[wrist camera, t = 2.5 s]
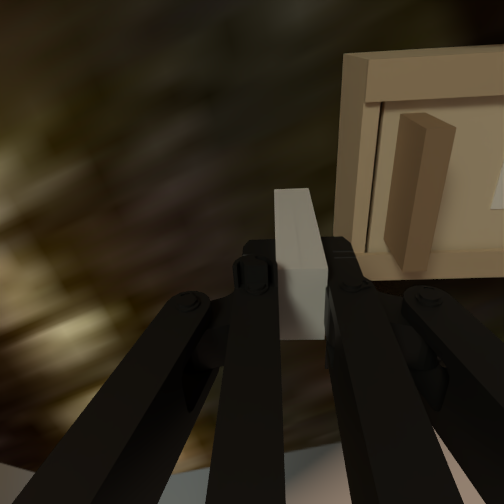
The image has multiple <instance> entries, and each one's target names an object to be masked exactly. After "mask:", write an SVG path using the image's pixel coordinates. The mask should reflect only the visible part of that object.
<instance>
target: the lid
mask: <svg viewBox="0 0 504 504" xmlns="http://www.w3.org/2000/svg"><path fill="white" fill-rule="evenodd" d="M496 248H504V95H495V96H476V97H457V98H439V99H420V100H401V101H382V108H381V117H380V126H379V135H378V144H377V153H376V162H375V172H374V181H373V190H372V199H371V208H370V217H369V226H368V235H367V245H366V253H373V252H391V253H392V255H393V257H394V258H395V260H396V262H397V264H398V265H399V267H400V269H401V270H402V272H414V271H427V267H428V262H429V257H430V253H431V251H434V250H465V249H496Z"/></svg>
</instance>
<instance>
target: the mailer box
mask: <svg viewBox="0 0 504 504" xmlns="http://www.w3.org/2000/svg"><path fill="white" fill-rule="evenodd" d="M495 95H504V44H495V45H478V46H461V47H445V48H428V49H412V50H395V51H379V52H362V53H346V54H343V72H342V89H341V106H340V123H339V140H338V158H337V175H336V192H335V209H334V226H333V235H334V237H338V236H343V237H344V238H345V239H347V240H348V241H349V242H350V243H351V245H352V248H353V250H354V253H355V255H356V258H357V261H358V263H359V266H360V268H361V271H362V274H363V276H364V277H366V278H367V279H369V280H371V281H380V280H415V279H450V278H485V277H504V248H496V249H465V250H434V251H431V253H430V257H429V262H428V267H427V271H414V272H402V270H401V269H400V267H399V265H398V264H397V262H396V260H395V258H394V257H393V255H392V253H391V252H373V253H366V245H367V235H368V226H369V217H370V208H371V199H372V190H373V181H374V172H375V162H376V153H377V144H378V135H379V126H380V117H381V108H382V101H401V100H420V99H439V98H457V97H476V96H495Z"/></svg>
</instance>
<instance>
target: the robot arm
mask: <svg viewBox="0 0 504 504" xmlns="http://www.w3.org/2000/svg"><path fill="white" fill-rule="evenodd" d="M274 200H275V239H267V240H249V241H248V242H247V243H246V244H245V246H244V247H243V254H242V257H240V258H238V259H237V260H236V261H235V262H234V264H233V276H234V287H235V290H234V292H233V293H231V294H230V295H228V296H226V297H223V298H220V299H216V300H212V301H210V299H209V297H208V296H207V295H206V294H204V293H202V292H198V291H187V292H183V293H179V294H177V295H175V296H173V297H172V298H171V299H170V300H168V301H167V303H166V304H165V305H164V307H163V308H162V309H161V310H160V312H159V313H158V314H157V316H156V317H155V318H154V320H153V321H152V322H151V323H150V325H149V326H148V327H147V329H146V330H145V331H144V333H143V334H142V335H141V336H140V338H139V339H138V340H137V342H136V343H135V344H134V346H133V347H132V348H131V349H130V351H129V352H128V353H127V355H126V356H125V357H124V359H123V360H122V361H121V362H120V364H119V365H118V366H117V368H116V369H115V370H114V372H113V373H112V374H111V375H110V377H109V378H108V379H107V381H106V382H105V383H104V385H103V386H102V387H101V388H100V390H99V391H98V392H97V394H96V395H95V396H94V398H93V399H92V400H91V401H90V403H89V404H88V405H87V407H86V408H85V409H84V411H83V412H82V413H81V414H80V416H79V417H78V418H77V420H76V421H75V422H74V424H73V425H72V426H71V427H70V429H69V430H68V431H67V433H66V434H65V435H64V437H63V438H62V439H61V440H60V442H59V443H58V444H57V446H56V447H55V448H54V449H53V451H52V452H51V453H50V455H49V456H48V457H47V459H46V460H45V461H44V462H43V464H42V465H41V466H40V468H39V469H38V470H37V472H36V473H35V474H34V475H33V477H32V478H31V479H30V481H29V482H28V483H27V485H26V486H25V487H24V489H23V490H22V491H21V493H20V494H19V495H18V496H17V498H16V499H15V500H14V502H13V503H12V504H158V502H159V499H160V497H161V495H162V493H163V491H164V489H165V486H166V484H167V482H168V480H169V478H170V476H171V473H172V471H173V469H174V467H175V465H176V463H177V461H178V458H179V456H180V454H181V452H182V450H183V448H184V445H185V443H186V441H187V439H188V437H189V435H190V432H191V430H192V428H193V426H194V424H195V422H196V420H197V417H198V415H199V413H200V411H201V409H202V407H203V404H204V402H205V400H206V398H207V396H208V394H209V391H210V389H211V387H212V385H213V383H214V381H215V378H216V376H217V374H218V371H219V367H220V366H224V370H223V378H222V385H221V392H220V400H219V407H218V414H217V422H216V429H215V436H214V443H213V451H212V458H211V465H210V473H209V480H208V488H207V495H206V502H205V504H286V501H285V472H284V442H283V413H282V384H281V355H280V340H322V339H324V337H325V333H326V338H327V340H326V357H325V369H328V368H329V373H330V378H331V384H332V390H333V396H334V402H335V408H336V414H337V419H338V425H339V431H340V437H341V443H342V449H343V455H344V460H345V466H346V472H347V478H348V484H349V490H350V496H351V501H352V504H464V503H463V500H462V498H461V495H460V493H459V491H458V488H457V486H456V483H455V481H454V478H453V476H452V473H451V471H450V469H449V466H448V464H447V461H446V459H445V456H444V454H443V451H442V449H441V447H440V444H439V442H438V439H437V437H436V434H435V432H434V429H435V430H436V432H437V434H438V435H439V436H440V438H441V439H442V441H443V442H444V444H445V445H446V447H447V448H448V450H449V451H450V452H451V454H452V455H453V457H454V458H455V460H456V461H457V463H458V464H459V465H460V467H461V468H462V470H463V471H464V473H465V474H466V476H467V477H468V479H469V480H470V481H471V483H472V484H473V486H474V487H475V489H476V490H477V491H478V493H479V494H480V496H481V497H482V499H483V500H484V502H485V503H486V504H504V343H503V342H502V341H501V340H500V339H499V338H498V337H496V336H495V335H494V334H493V333H492V332H491V331H490V330H489V329H488V328H486V327H485V326H484V325H483V324H482V323H481V322H480V321H479V320H477V319H476V318H475V317H474V316H473V315H472V314H471V313H470V312H469V311H467V310H466V309H465V308H464V307H463V306H462V305H461V304H460V303H459V302H457V301H456V300H455V299H454V298H453V297H452V296H451V295H449V294H448V293H446V292H445V291H443V290H441V289H438V288H436V287H432V286H426V285H418V286H413V287H410V288H408V289H407V290H406V291H405V292H404V295H403V297H401V296H395V295H390V294H386V293H382V292H379V291H377V290H376V288H375V285H374V284H373V283H372V282H371V280H369V279H367V278H366V277H364V276H363V274H362V271H361V268H360V266H359V263H358V261H357V258H356V255H355V253H354V250H353V248H352V245H351V243H350V242H349V241H348V240H347V239H345V238H344V237H343V236H338V237H320V233H319V229H318V225H317V221H316V217H315V213H314V209H313V205H312V201H311V197H310V193H309V189H308V188H302V189H275V190H274ZM432 426H433V427H432ZM433 428H434V429H433Z"/></svg>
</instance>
